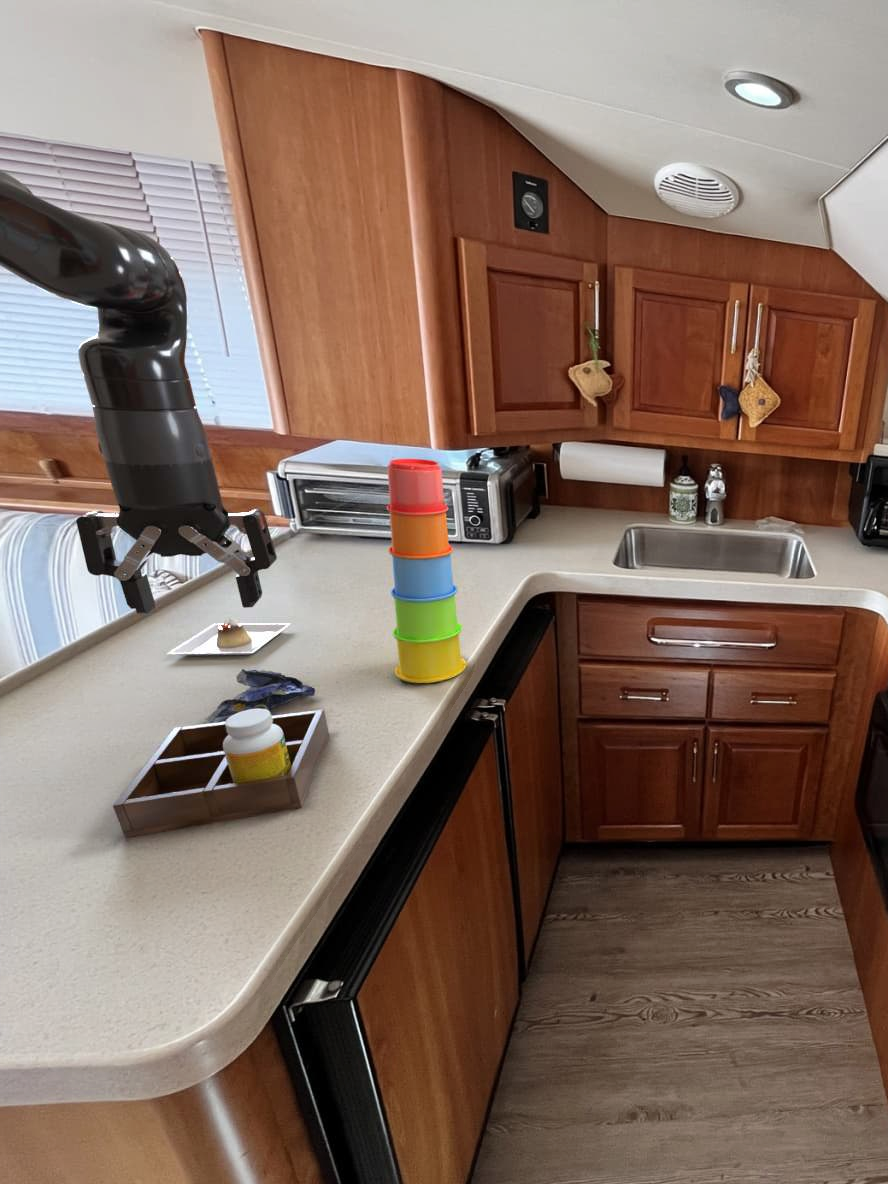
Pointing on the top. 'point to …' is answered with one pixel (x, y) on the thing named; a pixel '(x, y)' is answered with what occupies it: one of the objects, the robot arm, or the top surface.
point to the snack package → (262, 692)
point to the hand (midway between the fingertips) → (199, 608)
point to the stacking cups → (422, 574)
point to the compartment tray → (217, 778)
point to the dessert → (230, 639)
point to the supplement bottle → (255, 746)
